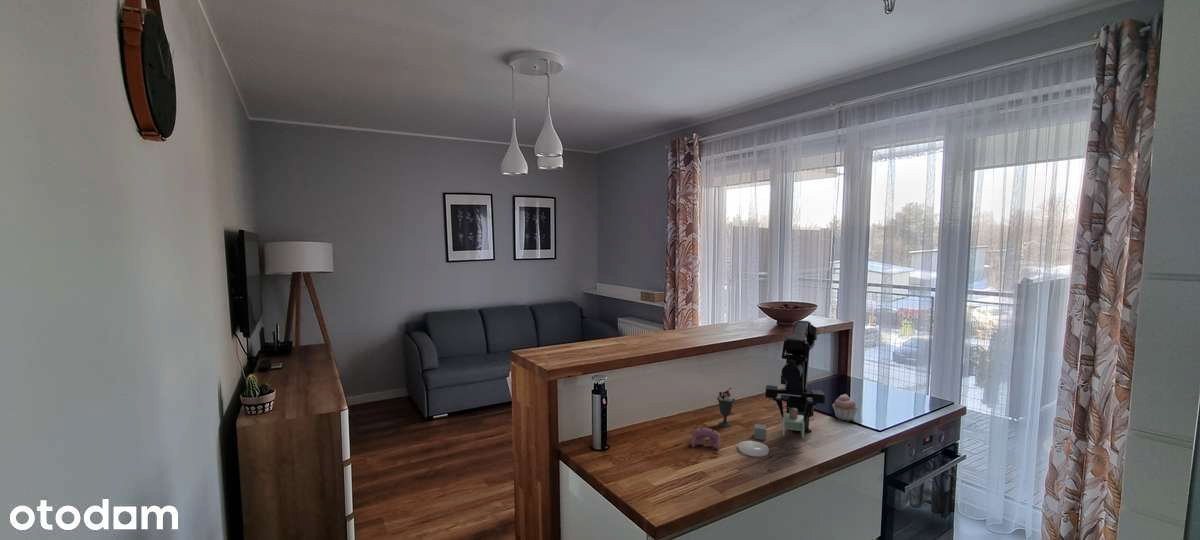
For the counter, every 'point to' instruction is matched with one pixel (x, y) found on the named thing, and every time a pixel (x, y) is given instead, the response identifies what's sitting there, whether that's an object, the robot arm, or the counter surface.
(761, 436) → the slate cube
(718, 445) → the video game controller
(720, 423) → the sundae
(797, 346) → the robot arm
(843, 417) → the cupcake
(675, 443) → the counter surface
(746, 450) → the saucer
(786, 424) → the sage camera
